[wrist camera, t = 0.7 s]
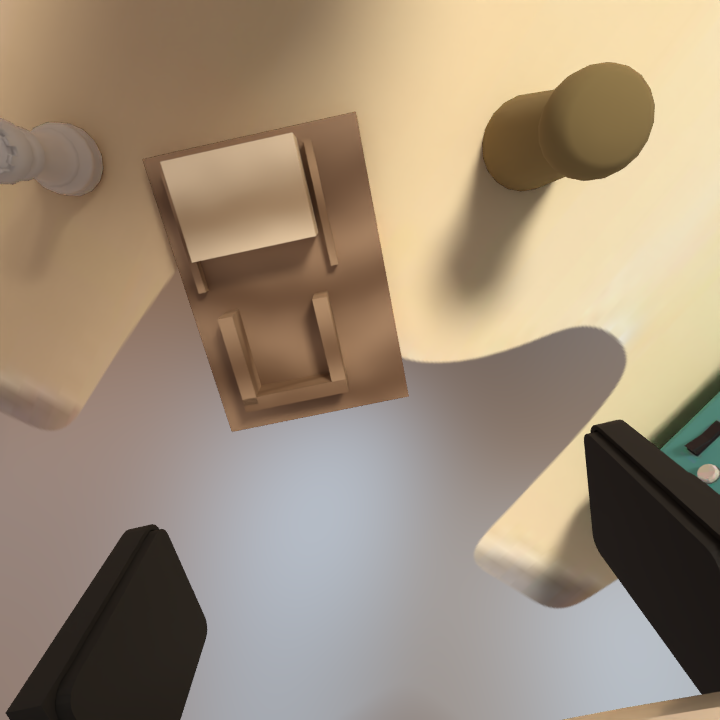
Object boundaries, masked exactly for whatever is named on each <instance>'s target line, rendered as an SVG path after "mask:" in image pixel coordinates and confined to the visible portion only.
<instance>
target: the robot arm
mask: <svg viewBox="0 0 720 720" xmlns="http://www.w3.org/2000/svg"><path fill="white" fill-rule="evenodd" d="M584 446H585V457H586V467H587V478H588V488H589V499H590V509H591V520H592V531H593V538H594V542H595V544H596V547H597V549H598V551H599V553H600V554H601V556H602V557H603V558H604V560H605V561H606V563H607V564H608V565H609V567H610V568H611V569H612V571H613V572H614V574H615V575H616V576H617V578H618V579H619V580H620V582H621V583H622V585H623V586H624V588H625V589H626V590H627V592H628V593H629V594H630V596H631V597H632V599H633V600H634V601H635V603H636V604H637V606H638V607H639V608H640V610H641V611H642V612H643V614H644V615H645V617H646V618H647V619H648V621H649V622H650V623H651V625H652V626H653V628H654V629H655V630H656V632H657V633H658V635H659V636H660V637H661V639H662V640H663V641H664V643H665V644H666V646H667V647H668V648H669V649H670V651H671V652H672V654H673V655H674V657H675V658H676V660H677V661H678V662H679V664H680V665H681V666H682V668H683V669H684V671H685V672H686V673H687V675H688V676H689V677H690V679H691V680H692V681H693V683H694V684H695V686H696V687H697V689H698V690H699V691H700V693H701V694H702V695H697V696H691V697H685V698H679V699H673V700H668V701H662V702H656V703H650V704H644V705H638V706H633V707H627V708H621V709H616V710H611V711H606V712H600V713H595V714H591V715H585V716H579V717H574V718H569V719H564V720H720V494H718V493H717V492H716V491H714V490H713V489H712V488H711V487H709V486H708V485H707V484H706V483H704V482H703V481H702V480H700V479H699V478H698V477H697V476H695V475H693V474H692V473H690V472H687V471H686V470H685V469H684V468H682V467H681V466H680V465H679V464H677V463H676V462H675V461H674V460H672V459H671V458H670V457H669V456H667V455H666V454H665V453H663V452H662V451H661V450H660V449H658V448H657V447H656V446H655V445H653V444H652V443H651V442H650V441H648V440H647V439H646V438H645V437H643V436H642V435H641V434H640V433H638V432H637V431H636V430H635V429H633V428H632V427H631V426H629V425H628V424H627V423H626V422H624V421H623V420H615V421H611V422H606V423H602V424H597V425H593V426H592V428H591V433H589V434H586V435H585V436H584ZM206 635H207V623H206V619H205V617H204V614H203V612H202V609H201V607H200V605H199V603H198V601H197V598H196V596H195V594H194V591H193V589H192V587H191V585H190V583H189V580H188V578H187V576H186V574H185V571H184V569H183V567H182V565H181V562H180V560H179V558H178V556H177V554H176V551H175V549H174V547H173V544H172V542H171V540H170V538H169V535H168V534H167V532H166V531H165V530H164V529H159V528H158V527H157V526H156V525H153V524H152V525H147V526H143V527H138V528H134V529H129V530H127V531H126V532H125V533H124V534H123V535H122V537H121V538H120V540H119V541H118V543H117V544H116V546H115V547H114V549H113V551H112V552H111V553H110V555H109V556H108V558H107V560H106V561H105V563H104V564H103V566H102V567H101V569H100V570H99V572H98V573H97V575H96V576H95V578H94V579H93V581H92V582H91V584H90V586H89V587H88V588H87V590H86V592H85V593H84V595H83V596H82V597H81V599H80V601H79V602H78V604H77V605H76V607H75V608H74V610H73V611H72V613H71V614H70V616H69V617H68V619H67V620H66V622H65V623H64V625H63V626H62V628H61V630H60V631H59V633H58V634H57V636H56V637H55V639H54V640H53V642H52V643H51V645H50V646H49V648H48V649H47V651H46V652H45V654H44V655H43V657H42V658H41V660H40V661H39V663H38V665H37V666H36V668H35V669H34V671H33V672H32V674H31V675H30V677H29V678H28V680H27V681H26V683H25V684H24V686H23V687H22V689H21V690H20V692H19V693H18V695H17V697H16V698H15V699H14V701H13V703H12V704H11V706H10V707H9V709H8V710H7V712H6V714H7V716H8V717H9V719H10V720H180V719H181V716H182V713H183V710H184V706H185V703H186V700H187V697H188V694H189V690H190V687H191V684H192V680H193V677H194V674H195V671H196V668H197V664H198V662H199V658H200V655H201V652H202V649H203V646H204V643H205V639H206Z"/></svg>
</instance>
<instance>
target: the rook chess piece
mask: <svg viewBox="0 0 720 720" xmlns="http://www.w3.org/2000/svg"><path fill="white" fill-rule="evenodd" d="M102 171H103V163H102V155H101V153H100V151H99V149H98V147H97V145H96V143H95V141H94V140H93V139H92V138H91V137H90V136H89V135H88V134H87V133H86V132H85V131H84V130H83V129H80V128H78V127H76V126H74V125H72V124H69V123H57V122H47V123H44V124H42V125H39V126H37V127H35V128H33V129H32V131H28V130H26V129H24V128H21V127H19V126H15V125H14V124H13V123H11V122H9V121H6V120H4V119H2V118H0V184H15V183H17V182H19V181H29V180H32V179H35V180H36V181H37V182H38V183H40V184H41V185H42V186H43V187H44V188H46V189H48V190H51V191H53V192H55V193H58V194H65V195H70V196H81V195H83V194H86V193H88V192H90V191H92V190H93V189H94V188H95V187H96V185H97V184H98V183H99V182H100V179H101V175H102Z"/></svg>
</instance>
